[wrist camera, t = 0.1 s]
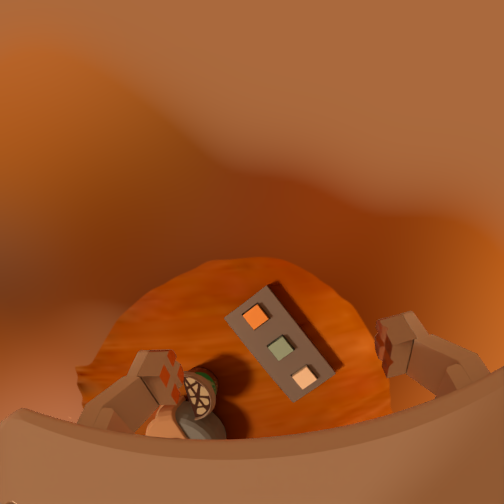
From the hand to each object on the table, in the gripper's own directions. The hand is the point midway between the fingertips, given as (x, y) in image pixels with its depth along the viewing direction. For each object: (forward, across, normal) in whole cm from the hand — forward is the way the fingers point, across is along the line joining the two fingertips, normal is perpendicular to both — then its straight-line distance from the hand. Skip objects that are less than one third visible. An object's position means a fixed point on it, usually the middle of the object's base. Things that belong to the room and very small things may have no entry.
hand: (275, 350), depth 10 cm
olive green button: (+39, -3, -36) cm, 54 cm away
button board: (+41, -3, -38) cm, 56 cm away
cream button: (+36, +2, -43) cm, 56 cm away
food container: (+38, -21, -44) cm, 62 cm away
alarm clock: (+31, -30, -57) cm, 71 cm away
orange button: (+43, -7, -29) cm, 53 cm away
